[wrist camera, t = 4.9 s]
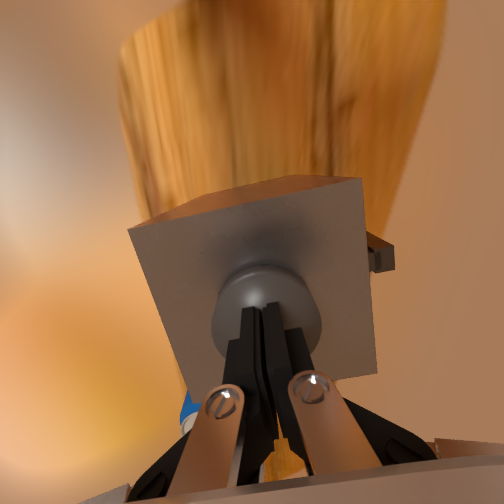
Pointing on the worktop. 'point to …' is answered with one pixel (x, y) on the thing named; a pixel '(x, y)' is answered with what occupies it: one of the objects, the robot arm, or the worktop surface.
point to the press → (261, 254)
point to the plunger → (265, 304)
